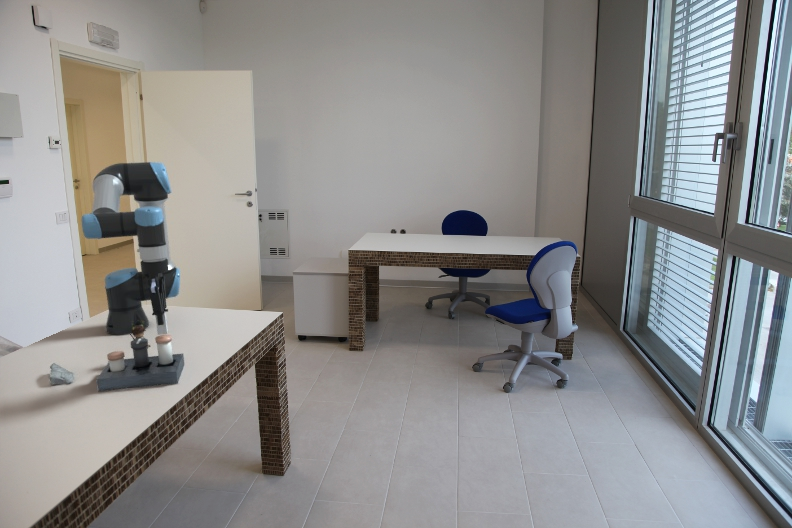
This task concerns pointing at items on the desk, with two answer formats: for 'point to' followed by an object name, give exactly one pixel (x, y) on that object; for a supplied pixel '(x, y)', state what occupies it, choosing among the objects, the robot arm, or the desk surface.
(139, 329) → the toy
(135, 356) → the dial
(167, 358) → the knob
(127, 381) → the mount
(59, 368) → the mineral specimen
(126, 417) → the desk surface
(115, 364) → the knob
